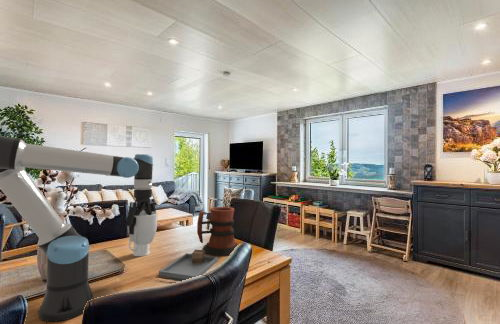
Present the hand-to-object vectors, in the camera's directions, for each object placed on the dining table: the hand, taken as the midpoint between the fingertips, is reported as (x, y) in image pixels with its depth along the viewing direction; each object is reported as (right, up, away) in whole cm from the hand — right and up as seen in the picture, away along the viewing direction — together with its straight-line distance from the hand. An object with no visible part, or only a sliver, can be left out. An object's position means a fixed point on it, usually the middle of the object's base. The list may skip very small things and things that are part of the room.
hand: (141, 237), depth 116 cm
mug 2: (-13, -17, +26) cm, 34 cm away
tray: (+20, -17, +7) cm, 27 cm away
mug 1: (0, -2, 0) cm, 2 cm away
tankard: (+31, -18, +33) cm, 48 cm away
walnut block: (+22, -16, +14) cm, 31 cm away
